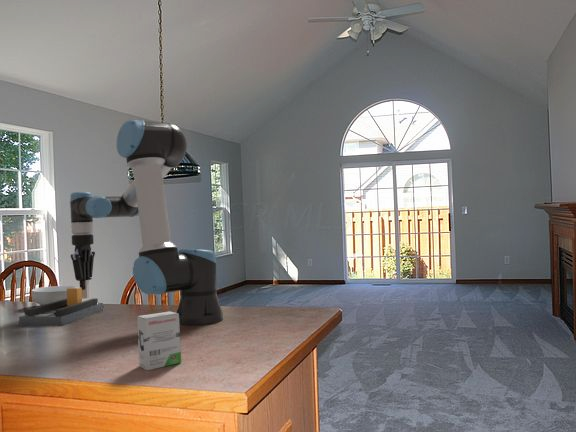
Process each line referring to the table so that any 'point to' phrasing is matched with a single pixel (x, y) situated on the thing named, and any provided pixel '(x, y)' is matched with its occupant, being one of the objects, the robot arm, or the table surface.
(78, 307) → the long dark grey rail
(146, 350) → the ink box
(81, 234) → the robot arm
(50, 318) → the grey slider base
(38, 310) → the dark grey edge bar
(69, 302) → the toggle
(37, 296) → the cereal bowl
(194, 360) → the table surface
